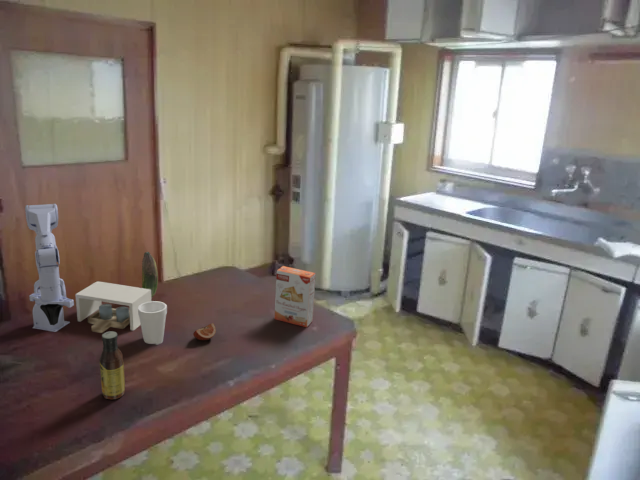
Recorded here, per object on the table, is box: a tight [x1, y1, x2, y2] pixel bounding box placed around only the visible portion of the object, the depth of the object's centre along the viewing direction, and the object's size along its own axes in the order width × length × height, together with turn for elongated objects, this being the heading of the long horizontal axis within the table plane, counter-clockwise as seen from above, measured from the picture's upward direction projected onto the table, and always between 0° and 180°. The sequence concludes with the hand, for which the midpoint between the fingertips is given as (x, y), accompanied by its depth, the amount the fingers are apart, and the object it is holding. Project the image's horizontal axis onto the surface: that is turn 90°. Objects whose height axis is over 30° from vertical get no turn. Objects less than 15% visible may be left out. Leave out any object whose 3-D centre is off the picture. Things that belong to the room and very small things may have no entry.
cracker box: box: [273, 265, 317, 328], centre depth 203 cm, size 14×6×21 cm, turn 68°
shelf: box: [74, 280, 152, 331], centre depth 196 cm, size 22×13×11 cm, turn 78°
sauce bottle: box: [99, 330, 126, 401], centre depth 151 cm, size 6×6×20 cm
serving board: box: [87, 307, 130, 334], centre depth 193 cm, size 14×15×2 cm
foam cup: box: [138, 300, 168, 346], centre depth 183 cm, size 10×9×13 cm
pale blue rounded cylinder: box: [98, 303, 113, 320], centre depth 197 cm, size 4×4×4 cm
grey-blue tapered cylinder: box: [115, 306, 129, 323], centre depth 196 cm, size 4×4×4 cm
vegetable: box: [141, 251, 159, 299], centre depth 215 cm, size 6×6×20 cm
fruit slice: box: [192, 322, 217, 341], centre depth 187 cm, size 8×7×5 cm
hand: (53, 323), depth 171 cm, fingers closed
